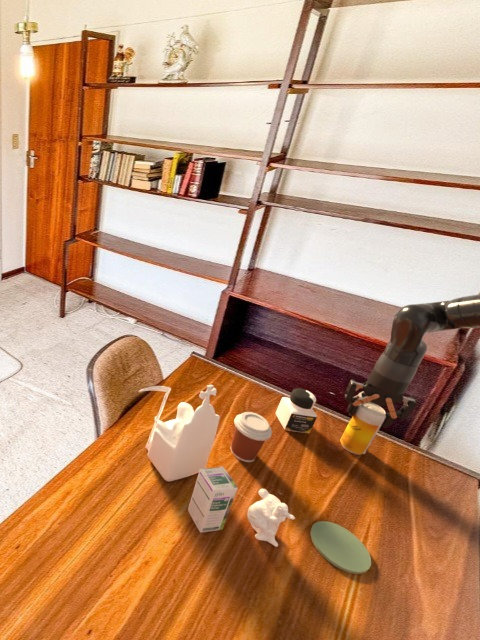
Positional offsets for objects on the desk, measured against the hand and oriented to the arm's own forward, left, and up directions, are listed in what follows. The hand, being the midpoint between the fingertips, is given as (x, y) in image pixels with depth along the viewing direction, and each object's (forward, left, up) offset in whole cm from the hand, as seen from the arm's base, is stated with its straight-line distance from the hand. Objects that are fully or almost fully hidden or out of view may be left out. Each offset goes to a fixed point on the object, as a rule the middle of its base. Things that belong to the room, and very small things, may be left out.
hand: (366, 419), depth 110 cm
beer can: (0, 0, -11) cm, 11 cm away
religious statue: (+45, +35, -11) cm, 58 cm away
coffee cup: (+27, +20, -11) cm, 35 cm away
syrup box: (+33, +47, -11) cm, 58 cm away
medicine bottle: (+15, -1, -11) cm, 19 cm away
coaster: (+6, +37, -11) cm, 39 cm away
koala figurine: (+21, +43, -11) cm, 49 cm away
